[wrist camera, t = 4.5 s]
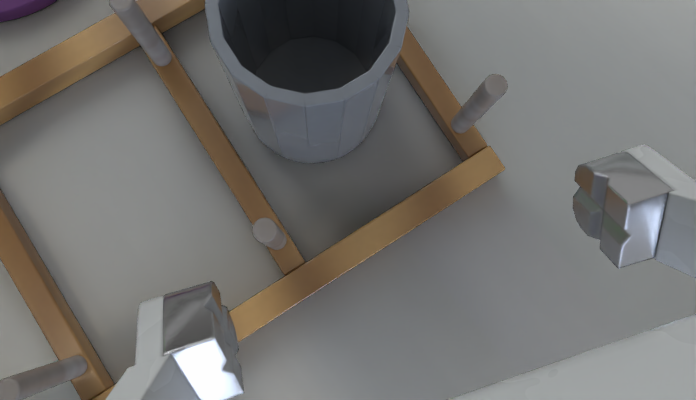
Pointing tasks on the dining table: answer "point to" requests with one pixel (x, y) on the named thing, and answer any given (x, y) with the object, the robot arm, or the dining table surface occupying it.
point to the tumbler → (308, 68)
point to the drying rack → (301, 278)
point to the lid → (21, 8)
